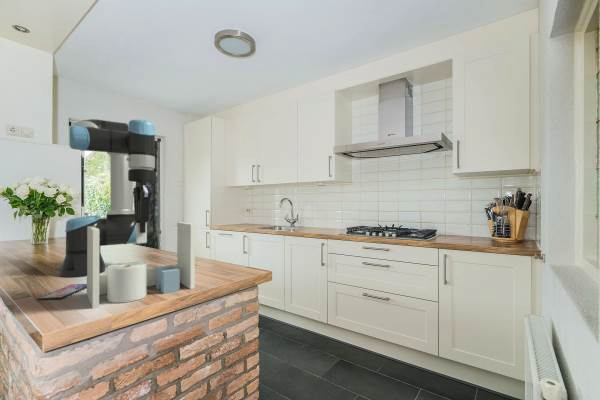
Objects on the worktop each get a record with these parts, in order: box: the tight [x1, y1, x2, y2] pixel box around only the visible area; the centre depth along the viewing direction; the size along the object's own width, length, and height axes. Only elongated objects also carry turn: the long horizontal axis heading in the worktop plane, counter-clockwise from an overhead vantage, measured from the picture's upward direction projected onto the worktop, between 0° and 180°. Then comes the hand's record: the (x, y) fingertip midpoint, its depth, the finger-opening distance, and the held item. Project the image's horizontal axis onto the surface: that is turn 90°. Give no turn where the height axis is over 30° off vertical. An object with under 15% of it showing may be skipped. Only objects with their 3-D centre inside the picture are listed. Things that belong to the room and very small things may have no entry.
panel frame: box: [86, 221, 196, 309], centre depth 98 cm, size 14×29×22 cm, turn 131°
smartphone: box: [36, 283, 87, 301], centre depth 98 cm, size 8×1×15 cm
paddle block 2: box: [160, 268, 181, 295], centre depth 99 cm, size 3×5×7 cm, turn 131°
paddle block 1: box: [155, 265, 174, 291], centre depth 103 cm, size 3×5×7 cm, turn 131°
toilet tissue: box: [106, 259, 148, 304], centre depth 93 cm, size 11×12×10 cm
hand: (141, 242), depth 96 cm, fingers closed
